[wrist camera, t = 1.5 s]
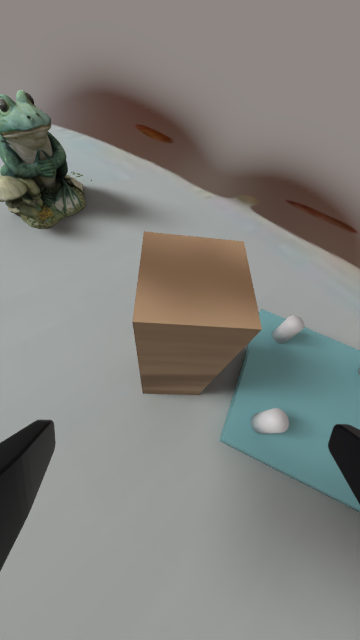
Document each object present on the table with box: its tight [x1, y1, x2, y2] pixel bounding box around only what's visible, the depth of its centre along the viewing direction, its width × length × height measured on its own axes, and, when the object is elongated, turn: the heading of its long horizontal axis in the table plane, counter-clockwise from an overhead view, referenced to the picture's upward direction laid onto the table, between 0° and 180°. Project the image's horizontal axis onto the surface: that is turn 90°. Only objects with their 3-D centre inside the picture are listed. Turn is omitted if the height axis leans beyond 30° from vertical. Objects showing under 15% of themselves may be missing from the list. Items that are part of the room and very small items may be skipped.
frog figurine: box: [0, 90, 92, 228], centre depth 25 cm, size 18×18×12 cm
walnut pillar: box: [133, 232, 262, 395], centre depth 15 cm, size 5×5×13 cm
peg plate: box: [220, 309, 360, 512], centre depth 19 cm, size 14×14×4 cm
